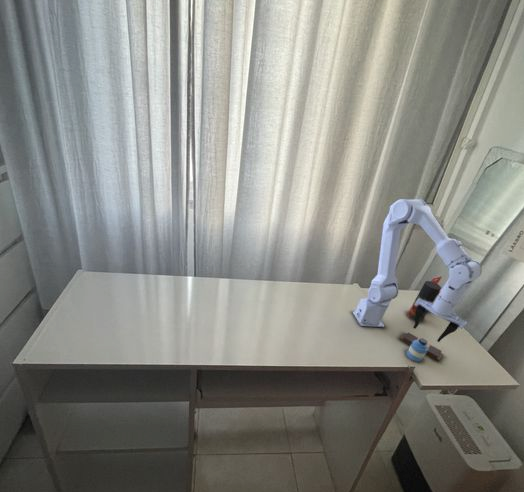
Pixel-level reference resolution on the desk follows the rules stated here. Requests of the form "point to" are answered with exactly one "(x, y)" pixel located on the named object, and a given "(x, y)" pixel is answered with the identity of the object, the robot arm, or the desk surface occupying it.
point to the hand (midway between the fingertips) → (426, 333)
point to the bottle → (418, 349)
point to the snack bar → (432, 350)
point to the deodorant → (425, 297)
